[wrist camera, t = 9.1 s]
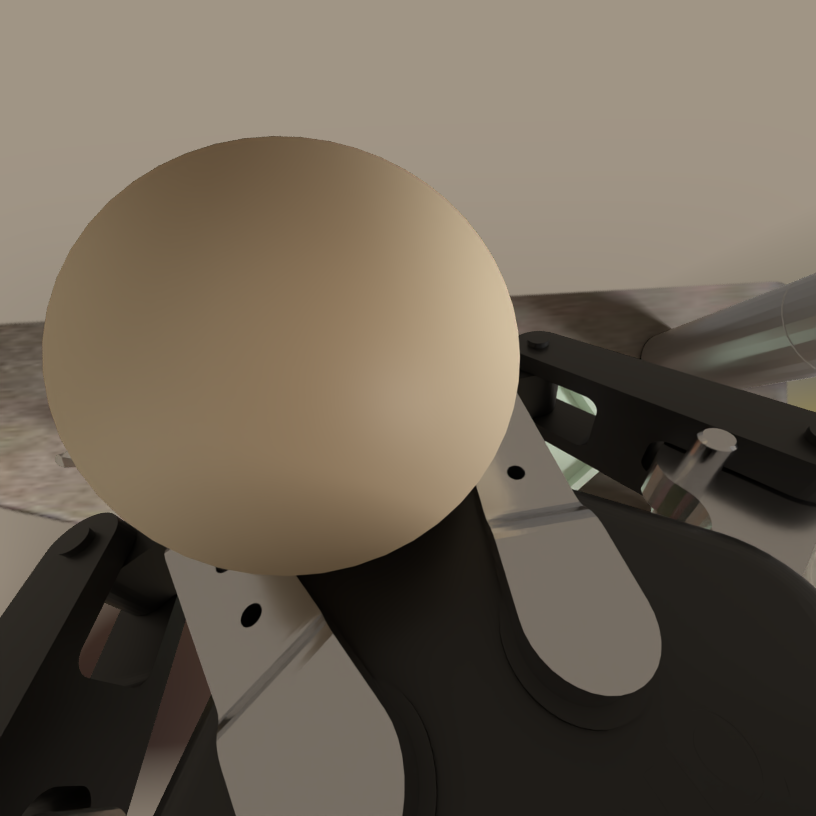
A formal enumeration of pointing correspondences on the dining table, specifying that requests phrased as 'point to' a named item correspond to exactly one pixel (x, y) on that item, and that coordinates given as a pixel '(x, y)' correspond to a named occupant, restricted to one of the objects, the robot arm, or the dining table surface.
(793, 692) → the robot arm
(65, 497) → the dining table surface
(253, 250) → the birch pin
